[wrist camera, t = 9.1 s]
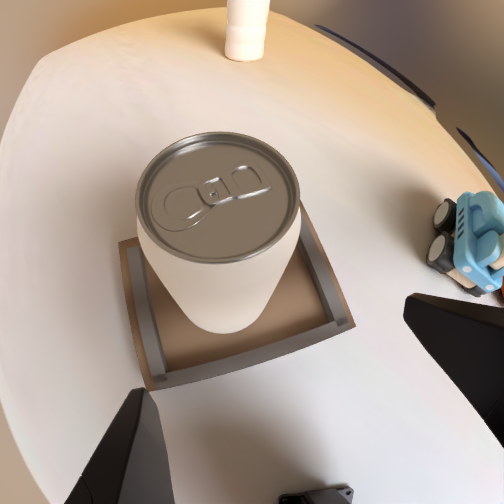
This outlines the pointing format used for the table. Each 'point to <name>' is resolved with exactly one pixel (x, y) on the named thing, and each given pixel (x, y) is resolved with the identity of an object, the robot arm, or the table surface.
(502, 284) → the fruit
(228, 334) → the dock
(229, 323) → the can
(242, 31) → the water bottle
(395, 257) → the table surface
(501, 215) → the toy excavator
